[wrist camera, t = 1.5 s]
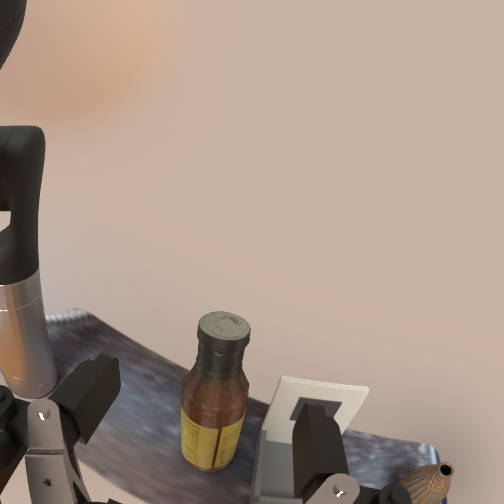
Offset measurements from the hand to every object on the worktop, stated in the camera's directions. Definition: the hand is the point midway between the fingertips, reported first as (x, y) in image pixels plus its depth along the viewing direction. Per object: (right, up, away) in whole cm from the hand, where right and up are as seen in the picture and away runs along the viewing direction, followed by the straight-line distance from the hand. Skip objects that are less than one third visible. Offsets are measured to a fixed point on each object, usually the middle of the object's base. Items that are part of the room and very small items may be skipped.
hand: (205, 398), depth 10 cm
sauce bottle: (-4, -18, +16) cm, 25 cm away
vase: (+21, -26, +9) cm, 34 cm away
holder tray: (+7, -21, +15) cm, 27 cm away
